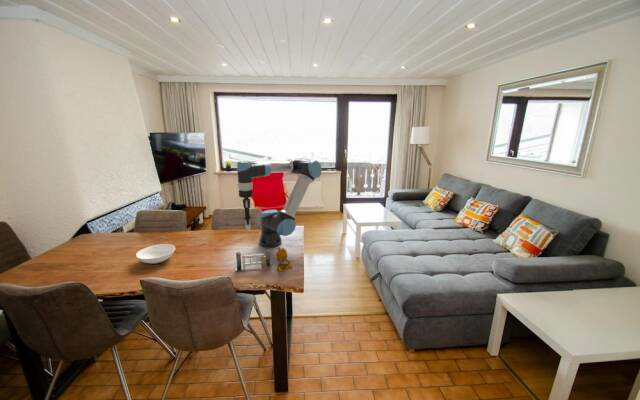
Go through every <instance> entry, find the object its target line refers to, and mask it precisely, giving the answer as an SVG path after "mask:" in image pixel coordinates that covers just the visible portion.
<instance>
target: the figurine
mask: <svg viewBox="0 0 640 400" xmlns="http://www.w3.org/2000/svg"><path fill="white" fill-rule="evenodd" d="M275 251H276V253H275V255H273V256H272V258H276V261H277V262H278V264H277V265H276V271H277V272H286V271H289V270H292V269H293V265H292V264H290V263H291V260H289V259H288V252H287V250H286V249H285V248H283V247H279V246H278V247H277V248H274V249H273V252H275ZM285 262H287V263H285Z"/></svg>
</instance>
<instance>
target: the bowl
mask: <svg viewBox="0 0 640 400" xmlns="http://www.w3.org/2000/svg"><path fill="white" fill-rule="evenodd" d="M175 250H176V246H175V245H173V244H171V243H160V244H155V245H149V246H148V247H144V248H142V249H140V250H139V251H137V252H136V254H135V257H136V258H137V259H138V260H140V262H142V263H147V264H159V263H163V262H164V261H166V260H168V259H169V258H170V257H172V256H173V254H174V251H175Z"/></svg>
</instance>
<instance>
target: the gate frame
mask: <svg viewBox="0 0 640 400" xmlns="http://www.w3.org/2000/svg"><path fill="white" fill-rule="evenodd" d="M235 257H236V266H235V269H234V272H235V273H239V272H244V270H245V268H243V265H242V254H241V252H240V251H239V252H238V251H237V252H236V253H235ZM260 261H261V264H260V265H261V269H266V268H270V267H271V250H270V249H268V248H267V249H265V255H264V256H261V257H260Z"/></svg>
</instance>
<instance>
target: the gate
mask: <svg viewBox="0 0 640 400" xmlns="http://www.w3.org/2000/svg"><path fill="white" fill-rule="evenodd" d="M261 256H265V253H264V252H263V253H255V254H245V255H241V261H242V266H243V268H244V269H246V267H247V266H258V265H261V260H260V261H258V258H261ZM252 258H255V261H252ZM246 259H249V262H246Z"/></svg>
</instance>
